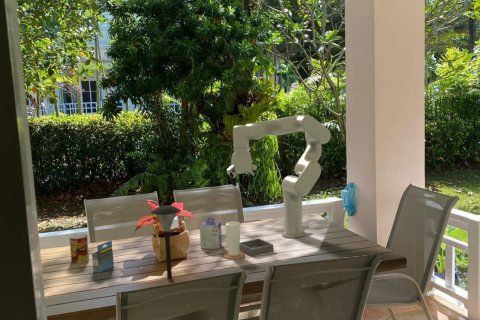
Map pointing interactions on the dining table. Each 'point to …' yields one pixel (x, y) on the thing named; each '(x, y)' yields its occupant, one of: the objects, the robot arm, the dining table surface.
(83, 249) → the canned food
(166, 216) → the solar garden light
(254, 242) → the bin
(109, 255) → the label tape cartridge
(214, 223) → the ink cartridge box
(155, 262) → the dining table surface
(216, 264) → the dining table surface
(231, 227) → the drinking glass
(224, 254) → the coaster
